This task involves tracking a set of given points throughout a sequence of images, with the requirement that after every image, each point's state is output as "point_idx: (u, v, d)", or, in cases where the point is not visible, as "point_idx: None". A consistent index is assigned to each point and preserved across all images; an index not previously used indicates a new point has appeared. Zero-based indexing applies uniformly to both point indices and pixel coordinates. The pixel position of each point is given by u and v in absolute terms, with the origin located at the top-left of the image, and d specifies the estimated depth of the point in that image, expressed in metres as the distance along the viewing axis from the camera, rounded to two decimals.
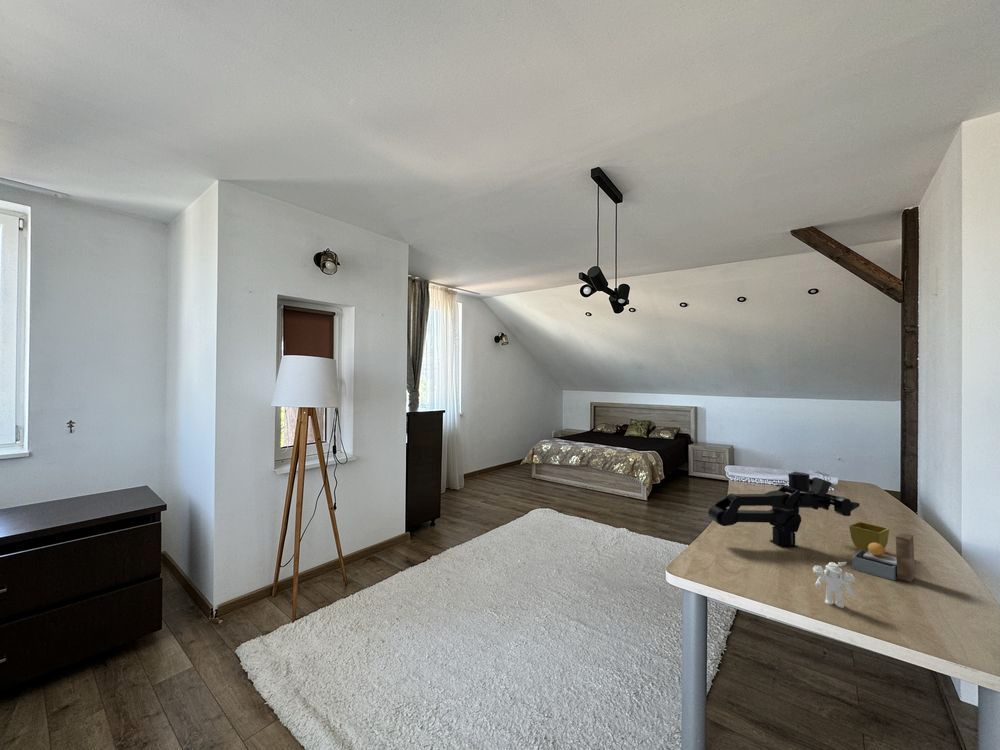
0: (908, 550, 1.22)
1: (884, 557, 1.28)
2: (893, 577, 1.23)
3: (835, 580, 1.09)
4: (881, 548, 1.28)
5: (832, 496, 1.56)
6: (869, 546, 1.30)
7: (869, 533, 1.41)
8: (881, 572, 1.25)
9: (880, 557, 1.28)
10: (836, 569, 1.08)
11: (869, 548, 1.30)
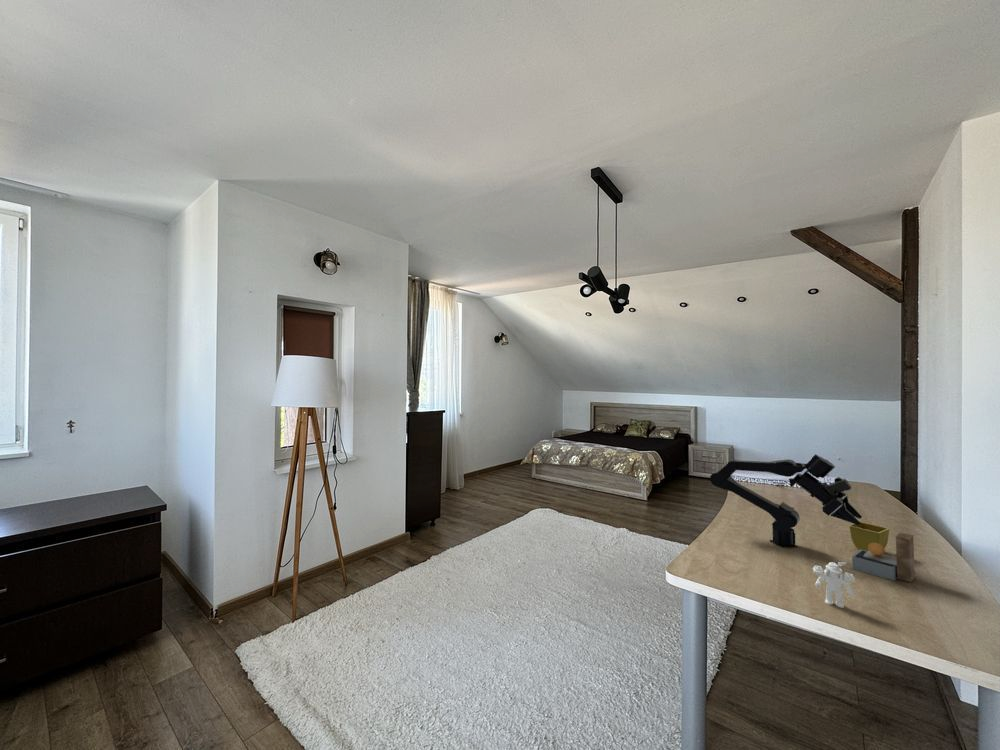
0: (908, 550, 1.22)
1: (884, 557, 1.28)
2: (893, 577, 1.23)
3: (835, 580, 1.09)
4: (881, 548, 1.28)
5: (855, 511, 1.40)
6: (869, 546, 1.30)
7: (869, 533, 1.41)
8: (881, 572, 1.25)
9: (880, 557, 1.28)
10: (836, 569, 1.08)
11: (869, 548, 1.30)
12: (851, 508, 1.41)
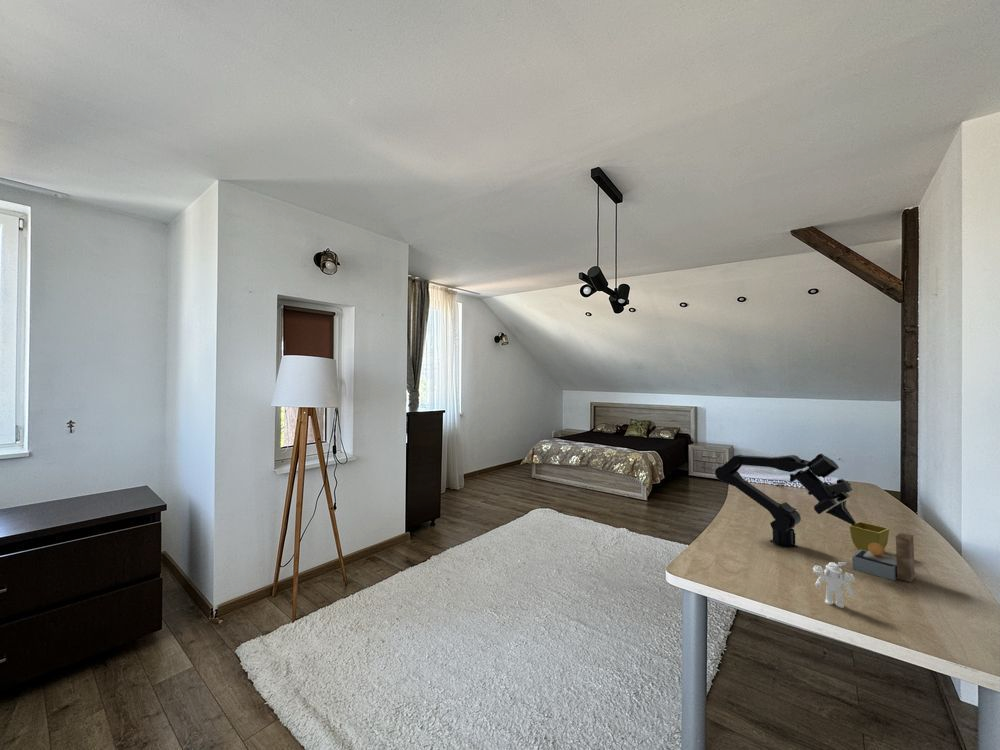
0: (908, 550, 1.22)
1: (884, 557, 1.28)
2: (893, 577, 1.23)
3: (835, 580, 1.09)
4: (881, 548, 1.28)
5: None
6: (869, 546, 1.30)
7: (869, 533, 1.41)
8: (881, 572, 1.25)
9: (880, 557, 1.28)
10: (836, 569, 1.08)
11: (869, 548, 1.30)
12: None
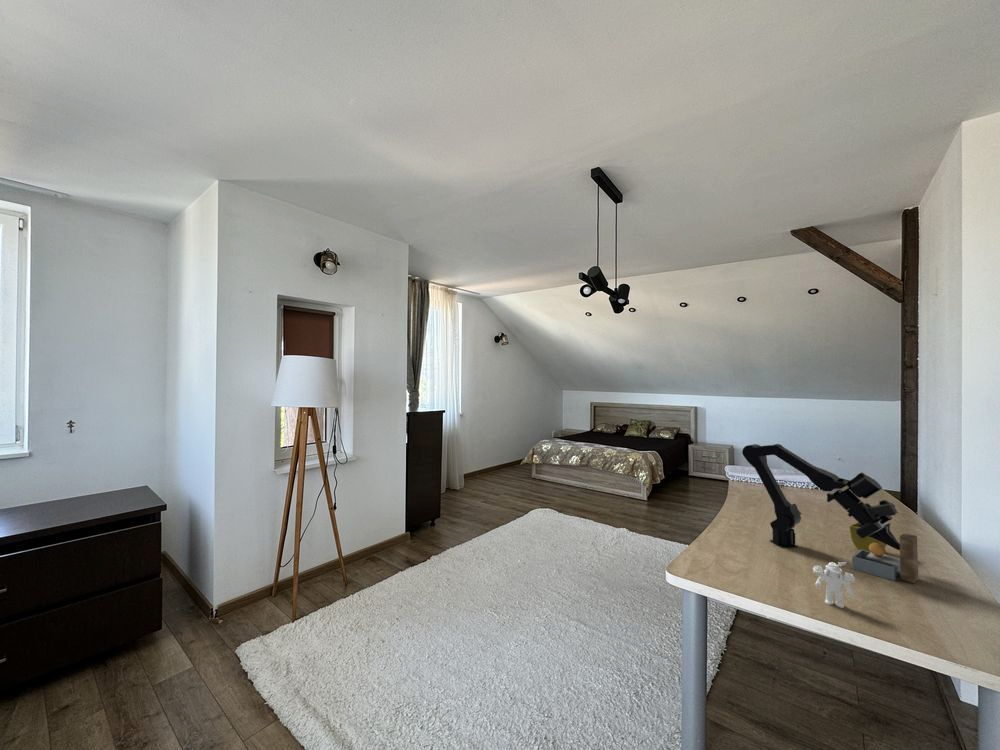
0: (912, 551, 1.21)
1: (887, 558, 1.27)
2: (893, 577, 1.23)
3: (835, 580, 1.09)
4: (881, 547, 1.28)
5: None
6: (869, 547, 1.30)
7: None
8: (881, 572, 1.25)
9: (883, 558, 1.27)
10: (836, 569, 1.08)
11: (870, 549, 1.30)
12: None
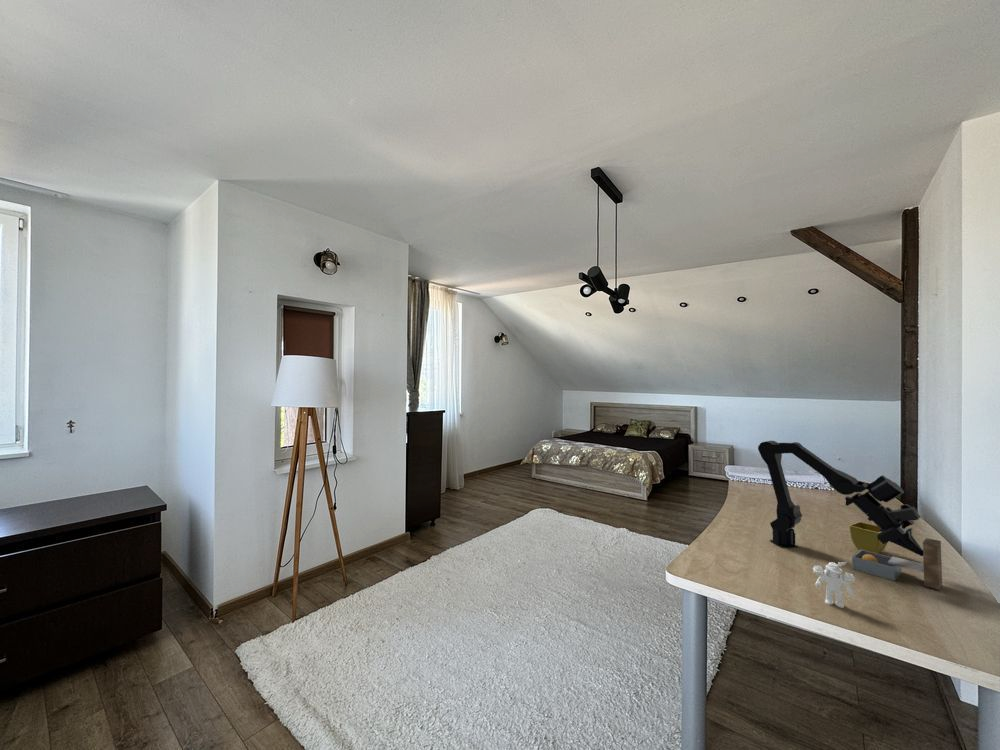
0: (936, 557, 1.17)
1: (910, 564, 1.23)
2: (893, 577, 1.23)
3: (835, 580, 1.09)
4: None
5: None
6: None
7: (869, 533, 1.41)
8: (881, 572, 1.25)
9: (906, 564, 1.23)
10: (836, 569, 1.08)
11: (873, 561, 1.29)
12: None
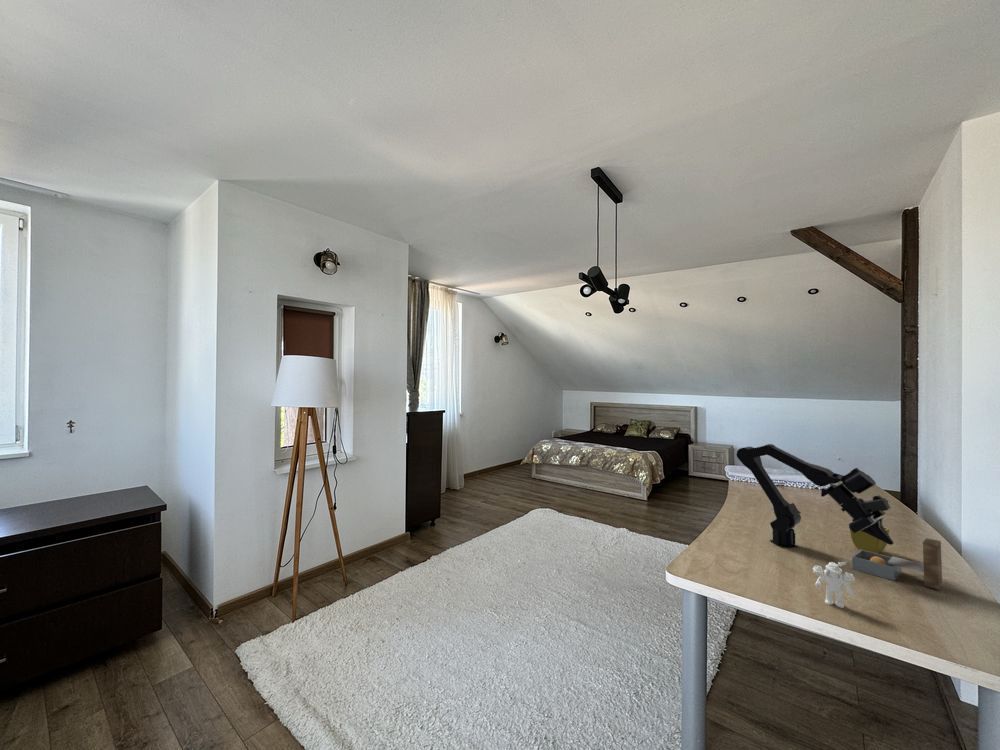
0: (936, 557, 1.17)
1: (910, 564, 1.23)
2: (893, 577, 1.23)
3: (835, 580, 1.09)
4: None
5: None
6: None
7: None
8: (881, 572, 1.25)
9: (906, 564, 1.23)
10: (836, 569, 1.08)
11: None
12: None
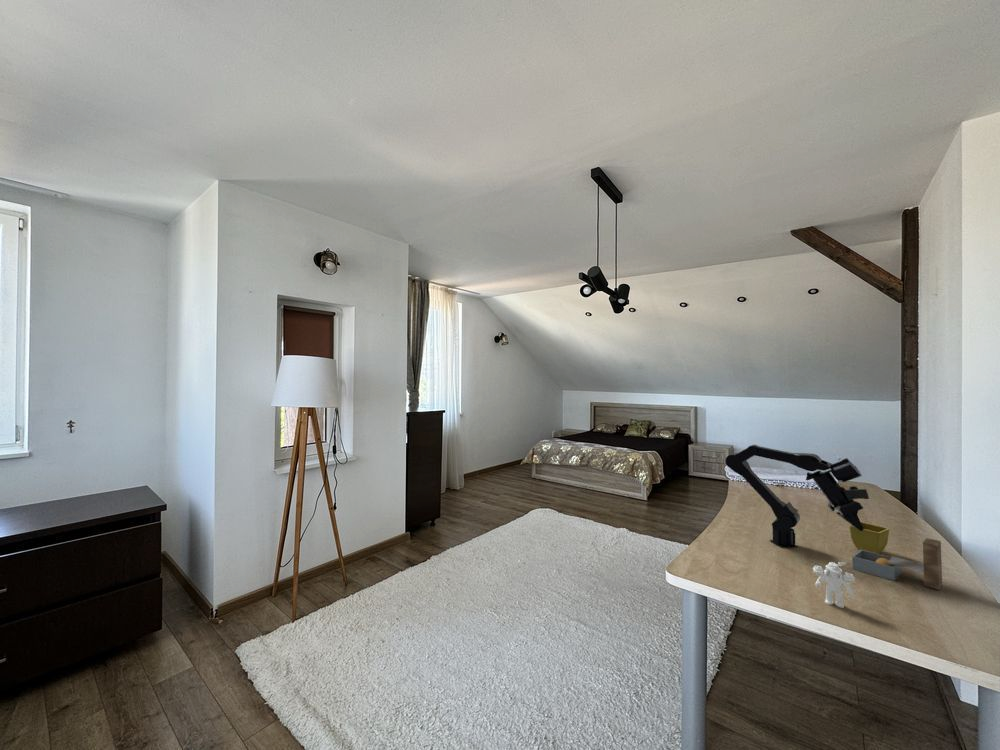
0: (936, 557, 1.17)
1: (910, 564, 1.23)
2: (893, 577, 1.23)
3: (835, 580, 1.09)
4: (877, 560, 1.29)
5: None
6: None
7: (869, 533, 1.41)
8: (881, 572, 1.25)
9: (906, 564, 1.23)
10: (836, 569, 1.08)
11: None
12: None
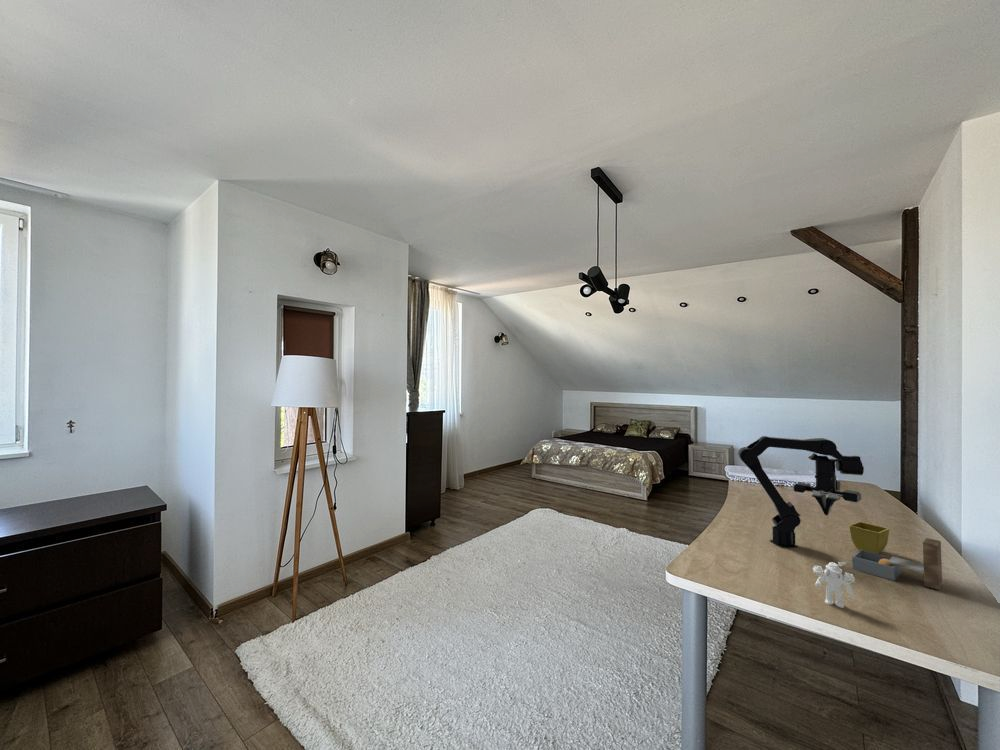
0: (936, 557, 1.17)
1: (910, 564, 1.23)
2: (893, 577, 1.23)
3: (835, 580, 1.09)
4: (881, 560, 1.28)
5: None
6: None
7: (869, 533, 1.41)
8: (881, 572, 1.25)
9: (906, 564, 1.23)
10: (836, 569, 1.08)
11: None
12: (825, 504, 1.46)
